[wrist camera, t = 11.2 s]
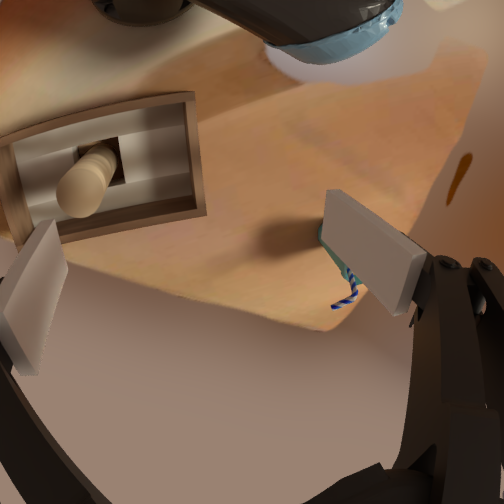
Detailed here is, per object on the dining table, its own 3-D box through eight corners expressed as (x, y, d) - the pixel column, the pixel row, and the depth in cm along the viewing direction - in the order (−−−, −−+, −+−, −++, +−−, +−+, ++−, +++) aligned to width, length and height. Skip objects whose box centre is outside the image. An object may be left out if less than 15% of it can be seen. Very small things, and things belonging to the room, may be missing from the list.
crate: (13, 132, 30) (-14, 143, 24) (187, 91, 36) (194, 91, 29) (37, 226, 38) (18, 253, 31) (198, 193, 43) (206, 215, 36)
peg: (83, 147, 35) (51, 176, 23) (115, 139, 36) (96, 165, 24) (89, 180, 37) (63, 222, 26) (121, 172, 38) (106, 212, 27)
